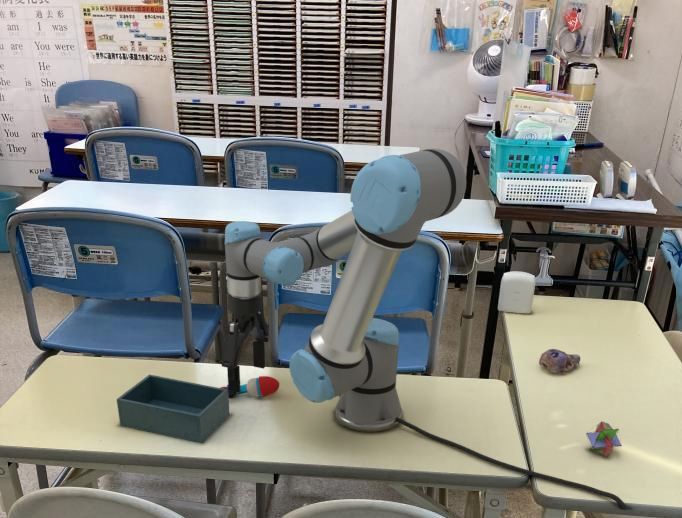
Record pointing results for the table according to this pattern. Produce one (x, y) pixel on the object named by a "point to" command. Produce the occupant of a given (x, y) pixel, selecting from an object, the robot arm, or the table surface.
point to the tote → (174, 408)
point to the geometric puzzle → (604, 438)
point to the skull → (558, 361)
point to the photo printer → (516, 292)
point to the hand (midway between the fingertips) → (247, 378)
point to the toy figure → (257, 387)
